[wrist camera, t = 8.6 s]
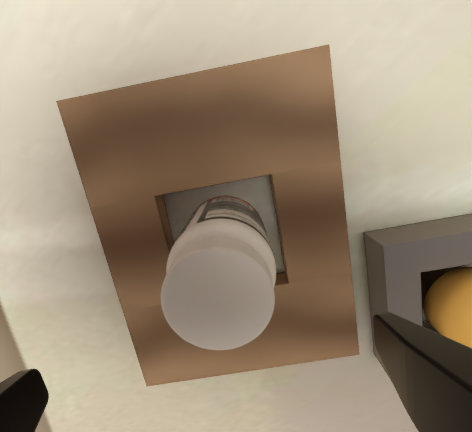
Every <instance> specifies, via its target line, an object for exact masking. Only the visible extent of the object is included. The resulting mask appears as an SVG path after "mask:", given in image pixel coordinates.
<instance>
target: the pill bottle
mask: <svg viewBox="0 0 472 432" xmlns="http://www.w3.org/2000/svg"><path fill="white" fill-rule="evenodd" d="M275 282H276V263H275V258H274V254H273V251H272V249H271V246H270V242H269V239H268V237H267V234H266V230H265V227H264V224H263V222H262V220H261V217H260V216H259V214H258V212H257V211H256V210H255V209H254V208H253V207H252V206H251V205H250V204H248V203H247V202H245V201H244V200H241V199H239V198H235V197H230V196H222V197H216V198H213V199H210V200H208V201H206V202H205V203H203V204H202V205H201V206H199V207H198V208H197V210H196V211H195V212H194V213H193V215H192V216H191V218H190V220H189V221H188V223H187V225H186V226H185V228H184V229H183V231H182V232H181V234H180V235H179V237H178V238H177V240H176V241H175V243H174V245H173V247H172V249H171V251H170V253H169V257H168V260H167V267H166V277H165V279H164V282H163V285H162V289H161V307H162V310H163V314H164V316H165V318H166V320H167V322H168V324H169V325H170V327H171V328H172V329H173V330H174V331H175V332H176V333H177V334H178V335H179V336H180V337H181V338H182V339H184V340H185V341H187V342H189V343H191V344H193V345H195V346H198V347H200V348H204V349H210V350H229V349H234V348H237V347H240V346H243V345H245V344H247V343H249V342H251V341H252V340H254V339H255V338H256V337H258V336H259V335H260V334H261V333H262V332H263V330H264V329H265V328H266V326H267V325H268V323H269V321H270V319H271V317H272V314H273V311H274V305H275V293H274V286H275Z"/></svg>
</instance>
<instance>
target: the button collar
mask: <svg viewBox="0 0 472 432" xmlns="http://www.w3.org/2000/svg"><path fill="white" fill-rule="evenodd" d="M364 239H365V251H366V263H367V275H368V287H369V299H370V311H371V323H372V335H373V347H374V355H375V356H376V358H377V359H378V361H379V362H380V364H381V365H382V367H383V368H384V370H385V372H386V373H387V375H388V376H389V374H388V372H387V370H386V368H385V366H384V364H383V362H382V360H381V358H380V356H379V354H378V352H377V350H376V346H375V342H374V330H373V316H374V315H375V314H379V313H385V312H391V313H394V314H396V315H398V316H400V317H403V318H405V319H407V320H409V321H412V322H414V323H416V324H418V325H421V326H423V327H425V328H427V329H429V330H432V331H434V332H436V333H438V334H440V333H439V332H438V331H437V330H436V329H435V328H433V327H432V326H431V324H430V323H429V322H423V323H422V299H421V272H426V271H432V270H438V269H444V268H451V267H457V266H463V265H469V264H472V214H468V215H462V216H456V217H450V218H444V219H439V220H433V221H427V222H421V223H415V224H410V225H404V226H398V227H392V228H386V229H381V230H375V231H369V232H364ZM389 378H390V376H389ZM390 379H391V378H390Z"/></svg>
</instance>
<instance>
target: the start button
mask: <svg viewBox="0 0 472 432" xmlns="http://www.w3.org/2000/svg"><path fill="white" fill-rule="evenodd" d="M424 313H425V317H426V319H427V321H428V322H429V323H430V324H431V326H432V327H433V328H435V329H436V330H437V331H438V332H439V333H440V334H441V335H443V336H445V337H447V338H450V339H452V340H454V341H456V342H459V343H461V344H463V345H465V346H468V347H470V348H472V267H461V268H457V269H454V270H451V271H449V272H447V273H445V274H444V275H442V276H441V277H439V278H438V279H437V280H436V281H435V282H434V283H433V284H432V285H431V287H430V288H429V290H428V292H427V294H426V297H425V300H424Z"/></svg>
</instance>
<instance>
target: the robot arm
mask: <svg viewBox="0 0 472 432" xmlns="http://www.w3.org/2000/svg"><path fill="white" fill-rule="evenodd" d="M373 330H374V342H375V346H376V350H377V352H378V354H379V356H380V358H381V360H382V362H383V364H384V366H385V368H386V370H387V372H388V374H389V376H390V378H391V381H392V383H393V385H394V387H395V389H396V391H397V393H398V395H399V397H400V399H401V401H402V403H403V405H404V407H405V409H406V411H407V412H408V414H409V416H410V418H411V419H412V421H413V423H414V425H415V426H416V428H417V429H418V431H419V432H472V348H470V347H468V346H465V345H463V344H461V343H459V342H456V341H454V340H452V339H450V338H447V337H445V336H443V335H441V334H438V333H436V332H434V331H432V330H429V329H427V328H425V327H423V326H421V325H418V324H416V323H414V322H412V321H409V320H407V319H405V318H403V317H400V316H398V315H396V314H394V313H391V312H385V313H379V314H375V315H374V316H373ZM48 398H49V394H48V390H47V388H46V386H45V383H44V381H43V378H42V376H41V374H40V372H39V371H38V370H37V369H29V370H23V371H20V372H17V373H16V374H14V375H12V376H11V377H9V378H7V379H6V380H4V381H2V382H1V383H0V432H35V430H36V427H37V425H38V423H39V421H40V418H41V416H42V414H43V412H44V410H45V407H46V405H47V402H48Z"/></svg>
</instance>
